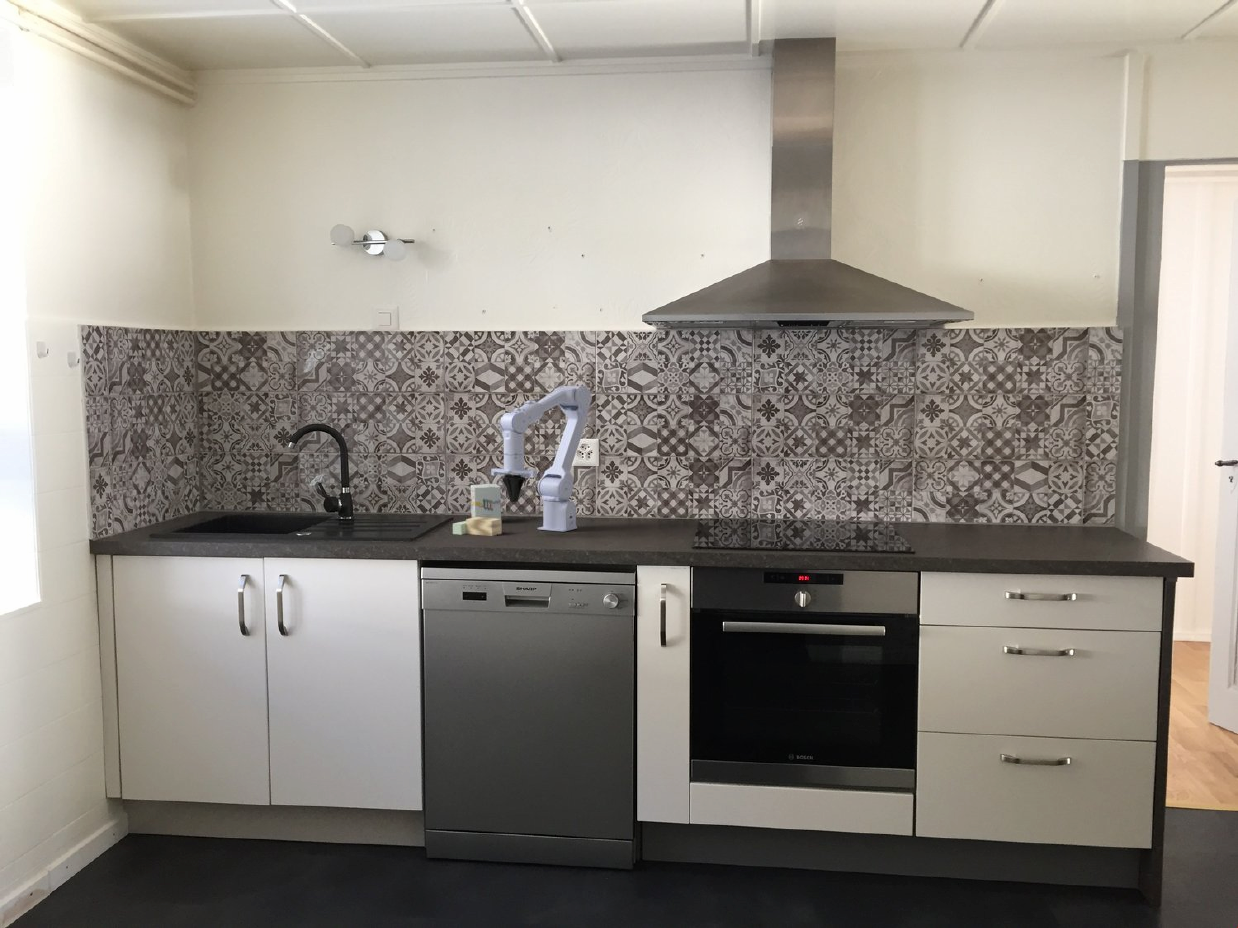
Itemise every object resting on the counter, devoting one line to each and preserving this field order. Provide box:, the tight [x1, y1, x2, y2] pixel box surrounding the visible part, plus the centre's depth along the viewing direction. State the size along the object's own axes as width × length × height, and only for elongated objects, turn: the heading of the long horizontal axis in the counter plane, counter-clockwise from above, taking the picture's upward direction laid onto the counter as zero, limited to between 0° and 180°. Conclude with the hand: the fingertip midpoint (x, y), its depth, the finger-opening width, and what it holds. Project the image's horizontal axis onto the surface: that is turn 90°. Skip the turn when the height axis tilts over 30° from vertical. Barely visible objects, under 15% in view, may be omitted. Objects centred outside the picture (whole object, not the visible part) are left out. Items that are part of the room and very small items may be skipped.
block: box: [465, 517, 503, 537], centre depth 288 cm, size 9×5×4 cm, turn 63°
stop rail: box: [452, 520, 467, 536], centre depth 292 cm, size 3×14×3 cm, turn 152°
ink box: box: [470, 483, 502, 520], centre depth 310 cm, size 9×9×12 cm
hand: (514, 501), depth 283 cm, fingers closed
